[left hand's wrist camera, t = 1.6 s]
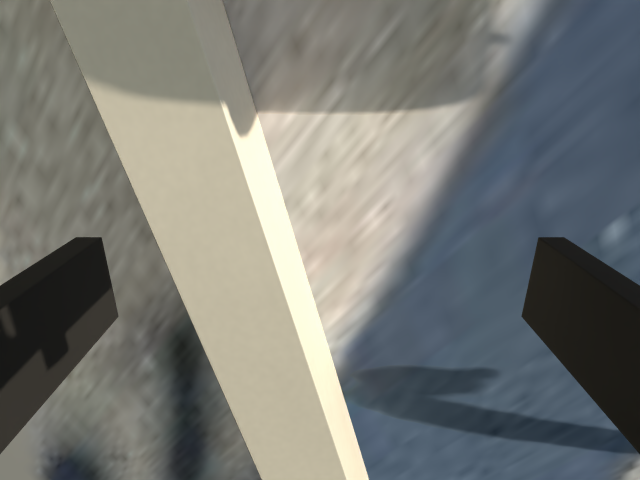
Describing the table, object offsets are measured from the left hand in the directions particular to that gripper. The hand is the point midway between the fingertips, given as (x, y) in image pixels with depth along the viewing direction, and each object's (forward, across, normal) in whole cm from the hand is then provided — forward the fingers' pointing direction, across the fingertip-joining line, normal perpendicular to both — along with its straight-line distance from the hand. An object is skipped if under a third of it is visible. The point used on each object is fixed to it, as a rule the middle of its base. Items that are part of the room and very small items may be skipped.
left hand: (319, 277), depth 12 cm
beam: (+18, -1, -22) cm, 28 cm away
